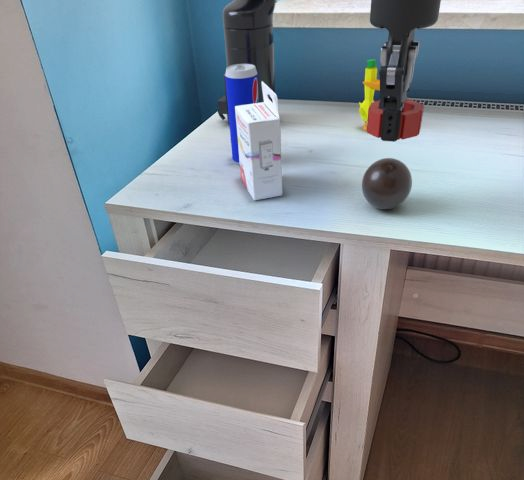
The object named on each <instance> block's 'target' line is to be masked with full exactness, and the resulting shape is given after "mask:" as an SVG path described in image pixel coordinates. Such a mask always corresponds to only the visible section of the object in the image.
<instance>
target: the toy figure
mask: <svg viewBox="0 0 524 480" xmlns="http://www.w3.org/2000/svg"><path fill="white" fill-rule="evenodd" d="M376 62H377V59H376V58H375V59H374V58H373V59H367V60H366V63H367V64H366V66H365V71H364V81H362V84H363V85H364V100H363V101H362V102H360V101H358V103H359V108H358V114H359V116H360V118H361V119H362V121H363V122H364V125H363V127H362V128H361V129H362V130H364V131H366V132H367V120H368V109H369V107H370V105H371V103H373V102H375V100H374V96H375V93H376V91H379V92H380V79H378V65H377V63H376Z"/></svg>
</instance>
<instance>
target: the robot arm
mask: <svg viewBox="0 0 524 480" xmlns="http://www.w3.org/2000/svg"><path fill="white" fill-rule="evenodd" d="M276 2H277V0H232V1H231V2H229V3H228V4H227V5H226V6H224V8H223V9H222V14H221V15H222V27H223V37H224V48H225V61H226V62H225V63H226V68H227V67H228V66H231V65H235V64H252V65H254V66H255V67H256V70H257V75H258V95H259V103H261V102H264V99H263V92H262V84H261V82H262V81H263V82H264V83H265V84H266V85H267V86H268V87H269V88H270V89H271V90H272V91H273V92H274V93H275V94H276V81H275V79H276V77H275V47H274V45H275V44H274V12H275V8H276ZM441 2H442V0H370V10H369V11H370V12H369V23H370V24H371V26H373V27H375V28H376V29H380V30H381V29H385V30H387V31H388V36H387V40H385V41H384V45H381V48H380V56H379V62H380V64H381V66H380V69H379V71H378V76H379V80H380V91H379V101H380V103H379V106H380V109H382V110H383V117H382V127H381V137H380V140H381V141H383V142H397V141H398V140H397V139H398V137H399V130H400V122H401V114H402V112H403V109H404V104H405V102H406V101H407V99H408V95H409V92H410V89H411V88H410V86H411V84H412V81H413V79H414V71H415V65H416V64H415V63H416V59H417V57H418V55H419V50H420V40H419V41H417V40H415V34H416V30H417V29H418V30H421V29H426V28H430V27H432V26H433V25H436V23H437V22H438V20H439V15H440V9H441ZM225 73H226V71H225V72H224V73H223V84H224V95H223V96H222V97H220V98H219V99H218V100H216V101H217V115H218V116H219V118H220V119H221V120H222V121H224V120H226V119H227V125H229V113H228V102H227V91H226V79H225ZM268 98H269V100H270V101H271V102H272V103H273V101H272V98H271V97H270V94H269V95H268ZM225 115H226V117H225Z"/></svg>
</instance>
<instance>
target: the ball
mask: <svg viewBox="0 0 524 480" xmlns="http://www.w3.org/2000/svg"><path fill="white" fill-rule="evenodd" d="M412 187H413V177H412V174H411V171H410V168H409V167H408V166H407V164H406V163H404V162H403V161H401V160H400V159H397V158H393V157H385V158H381V159H378V160H376V161H374V162H373V163H372V164H370V166H369V167H368V168H367V169H366V170H365V172H364V174H363V176H362V180H361V191H362V195H363V197H364V199H365V200H366V202H367V203H368V204H369V205H371V206H372V207H374V208H376V209H379V210H392V209H394V208H395V209H396V208H397V207H399V206H400V205H402V204H403V203H404V202H405V201H406V200H407V199H408V197H409V195H410V193H411V191H412Z"/></svg>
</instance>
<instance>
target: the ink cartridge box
mask: <svg viewBox="0 0 524 480" xmlns="http://www.w3.org/2000/svg"><path fill="white" fill-rule="evenodd" d="M261 84H262V92H263V99H264V102H261V103H254V104H247V105H240V106H235V114H236V124H237V136H238V149H239V163H240V165H239V171H240V172H239V173H240V180H241V182H242V183H243V185H244V187H245V189H246V190H247V191H248V193H249V194H250V196H251V198H252V200H253V201H260V200H264V199H270V198H275V197H280V196H283V169H282V168H283V167H282V165H283V163H282V132H281V131H282V129H281V117H280V116H281V115H280V105H279V99H278V95H277V94H276V92H275V93H274V92H273V91H272V90H271V89H270V88H269V87H268V86H267V85H266V84H265V83H264V82H263V81H262V82H261ZM269 94H270V97H271V98H272V101H273V103H272V102H271V101H270V100H269V98H268V95H269Z"/></svg>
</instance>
